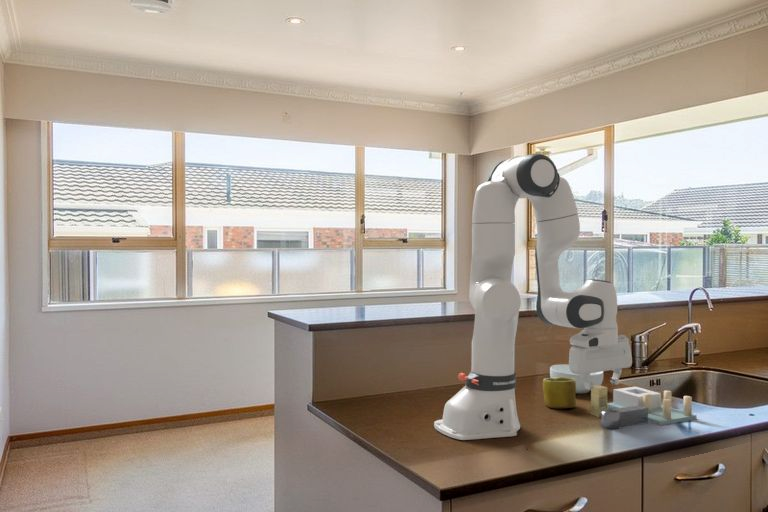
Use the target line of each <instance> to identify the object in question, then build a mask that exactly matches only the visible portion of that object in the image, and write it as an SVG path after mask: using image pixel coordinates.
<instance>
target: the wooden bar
mask: <svg viewBox="0 0 768 512" xmlns="http://www.w3.org/2000/svg"><path fill="white" fill-rule="evenodd" d="M607 403H608V386H603V385H602V384H601V385H595V386H593V389H591V390H590V415H592V416H594V417H597V418H601V410H603V409H608V408H607Z"/></svg>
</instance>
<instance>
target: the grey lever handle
mask: <svg viewBox="0 0 768 512" xmlns="http://www.w3.org/2000/svg"><path fill="white" fill-rule="evenodd" d="M648 423H649V421H648V408H647V407H643V406H640V405H637V406H630V407H624V408H617V409H610V408H607V409H603V410H601V417H600V427H601V428H603V429H605V430H614V431H615V430H619V429H621V428H625V427H632V426H636V425H643V424H648Z"/></svg>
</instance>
